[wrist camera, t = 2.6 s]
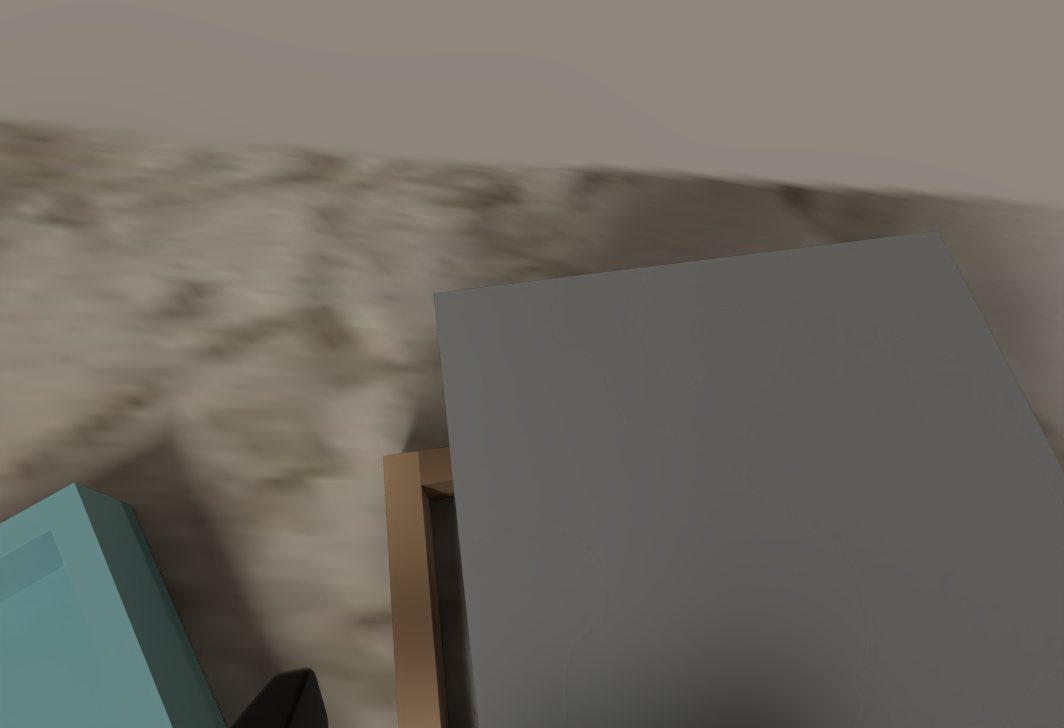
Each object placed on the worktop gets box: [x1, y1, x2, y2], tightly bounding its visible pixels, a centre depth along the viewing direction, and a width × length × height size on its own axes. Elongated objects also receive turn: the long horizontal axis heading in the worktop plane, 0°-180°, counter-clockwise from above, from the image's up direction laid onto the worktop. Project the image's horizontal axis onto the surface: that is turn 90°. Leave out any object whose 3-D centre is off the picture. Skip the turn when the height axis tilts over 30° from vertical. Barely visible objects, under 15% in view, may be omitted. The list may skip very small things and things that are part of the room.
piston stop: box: [434, 231, 1064, 728], centre depth 10 cm, size 6×6×13 cm
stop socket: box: [383, 447, 455, 728], centre depth 15 cm, size 9×9×2 cm
